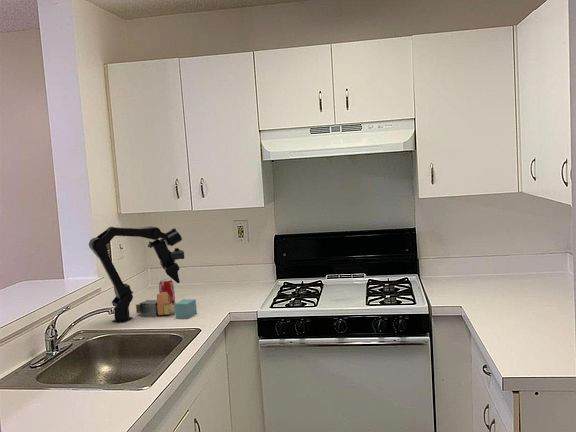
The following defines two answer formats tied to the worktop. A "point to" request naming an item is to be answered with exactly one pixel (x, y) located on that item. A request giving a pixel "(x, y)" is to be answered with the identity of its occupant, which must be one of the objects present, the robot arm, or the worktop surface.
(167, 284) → the soda can
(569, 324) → the worktop surface
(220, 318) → the worktop surface
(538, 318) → the worktop surface
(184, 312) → the socket block
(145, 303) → the sleeve
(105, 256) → the robot arm
